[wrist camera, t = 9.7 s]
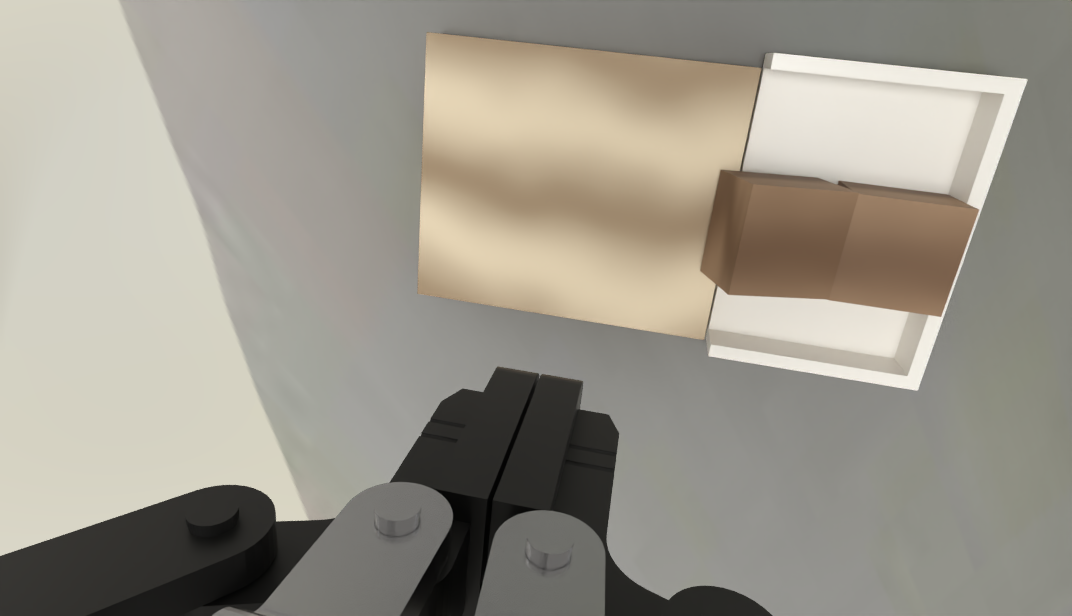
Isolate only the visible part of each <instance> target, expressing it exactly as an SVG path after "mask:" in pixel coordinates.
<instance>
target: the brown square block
mask: <svg viewBox="0 0 1072 616" xmlns="http://www.w3.org/2000/svg"><path fill="white" fill-rule="evenodd" d="M858 195H859V192H856V191H853V190H850V189H848V188H845V187H842V186H839V185H837V184H834V183H831V182H828V181H826V180H823V179H820V178H817V177H804V176H792V175H780V174H768V173H756V172H744V171H732V170H721V171H720V176H719V181H718V186H717V191H716V196H715V201H714V205H713V210H712V215H711V220H710V225H709V230H708V235H707V240H706V244H705V249H704V254H703V259H702V264H701V269H700V271H701V272H702V273H703V274H704V275H706V276H707V277H708V278H709V279H710V280H711V281H713V282H714V283H715V284H716V285H717V286H718V287H720V288H721V289H722V290H723V291H724V292H725V293H727V294H728V295H740V296H762V297H784V298H806V299H828V300H829V297H830V294H831V290H832V287H833V283H834V279H835V276H836V272H837V269H838V265H839V262H840V258H841V255H842V251H843V248H844V244H845V241H846V237H847V234H848V230H849V227H850V223H851V220H852V216H853V213H854V209H855V206H856V202H857V199H858Z"/></svg>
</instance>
